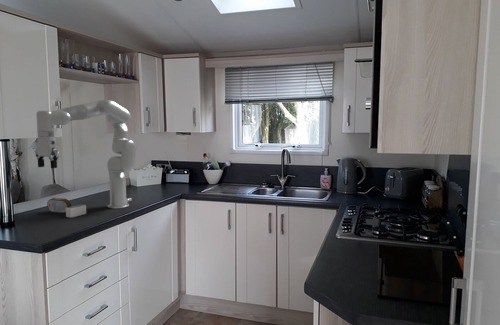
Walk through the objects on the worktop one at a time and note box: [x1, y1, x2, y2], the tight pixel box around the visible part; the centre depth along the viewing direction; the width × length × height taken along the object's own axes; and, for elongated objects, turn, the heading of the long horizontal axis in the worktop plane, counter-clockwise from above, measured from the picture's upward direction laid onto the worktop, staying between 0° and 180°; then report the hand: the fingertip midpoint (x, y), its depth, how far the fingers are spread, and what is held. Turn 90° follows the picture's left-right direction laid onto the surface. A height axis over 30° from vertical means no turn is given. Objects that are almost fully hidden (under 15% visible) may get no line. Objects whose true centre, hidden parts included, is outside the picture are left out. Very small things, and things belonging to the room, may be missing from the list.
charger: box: [65, 204, 87, 218], centre depth 206 cm, size 10×4×5 cm, turn 154°
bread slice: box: [46, 197, 72, 214], centre depth 212 cm, size 15×3×8 cm, turn 74°
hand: (47, 167), depth 190 cm, fingers open, 9 cm apart
